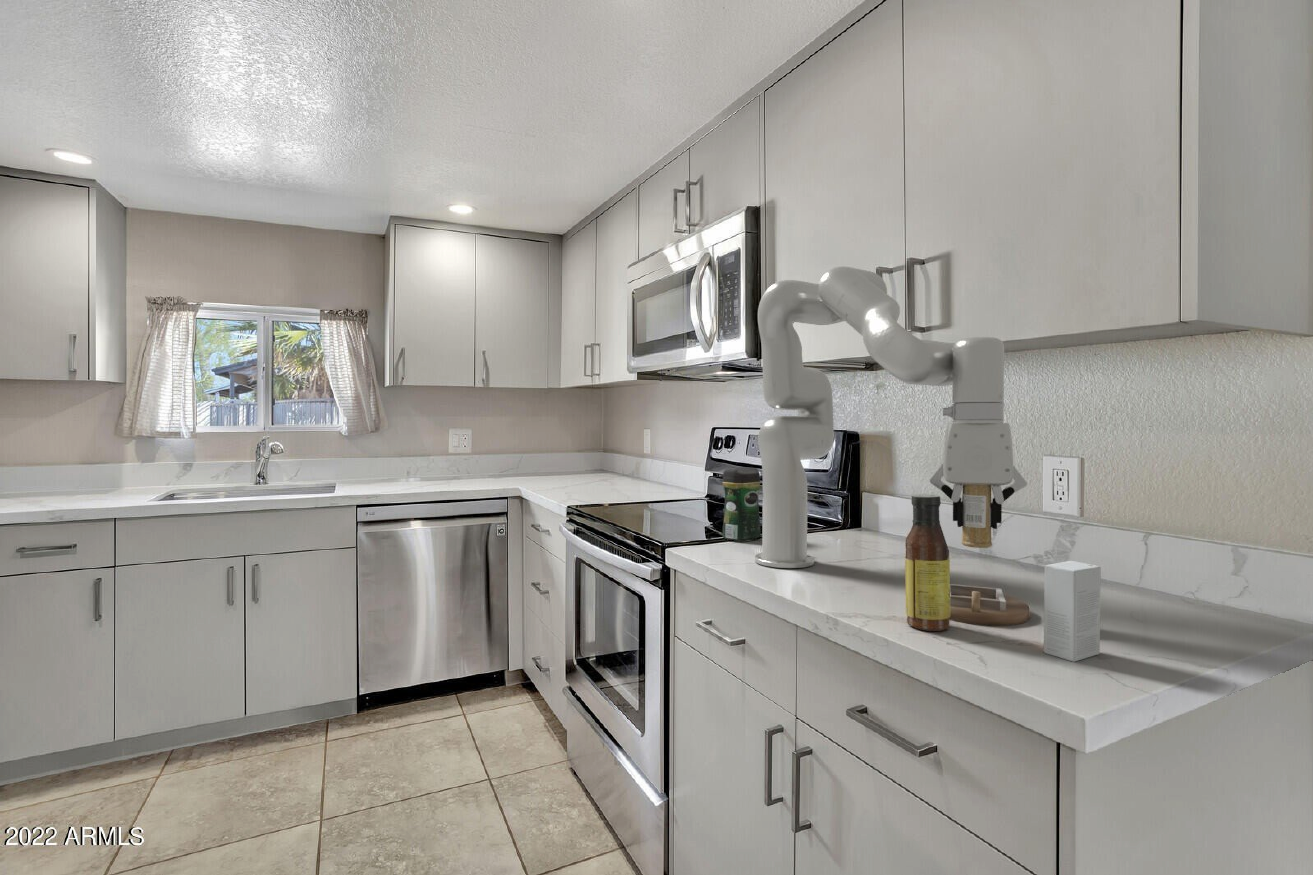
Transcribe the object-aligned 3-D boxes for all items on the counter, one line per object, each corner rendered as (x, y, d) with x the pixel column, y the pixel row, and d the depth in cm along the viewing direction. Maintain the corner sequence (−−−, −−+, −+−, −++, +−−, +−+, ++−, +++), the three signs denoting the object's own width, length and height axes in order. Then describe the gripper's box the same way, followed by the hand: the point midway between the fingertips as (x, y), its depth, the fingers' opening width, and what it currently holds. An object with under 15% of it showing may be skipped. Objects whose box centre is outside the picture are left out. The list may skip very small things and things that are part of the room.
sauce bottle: (959, 629, 100) (961, 496, 99) (931, 635, 97) (933, 499, 96) (922, 617, 105) (924, 492, 105) (895, 623, 102) (897, 494, 102)
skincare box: (1067, 645, 93) (1070, 559, 92) (1100, 655, 89) (1102, 566, 89) (1041, 652, 90) (1043, 564, 90) (1073, 662, 86) (1076, 570, 86)
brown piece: (921, 593, 120) (922, 568, 120) (1023, 603, 114) (1023, 577, 114) (919, 617, 105) (920, 589, 105) (1035, 631, 99) (1036, 600, 99)
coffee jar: (743, 535, 178) (744, 465, 177) (765, 539, 172) (766, 467, 171) (716, 539, 172) (717, 467, 172) (738, 543, 166) (738, 469, 165)
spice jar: (997, 546, 108) (998, 463, 108) (981, 549, 106) (982, 464, 105) (971, 542, 112) (971, 462, 112) (954, 545, 109) (955, 463, 109)
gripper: (921, 414, 108) (920, 527, 109) (1040, 413, 102) (1039, 533, 102) (922, 415, 115) (921, 520, 116) (1033, 414, 109) (1032, 526, 109)
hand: (976, 525), depth 109 cm, fingers closed on spice jar, 4 cm apart
